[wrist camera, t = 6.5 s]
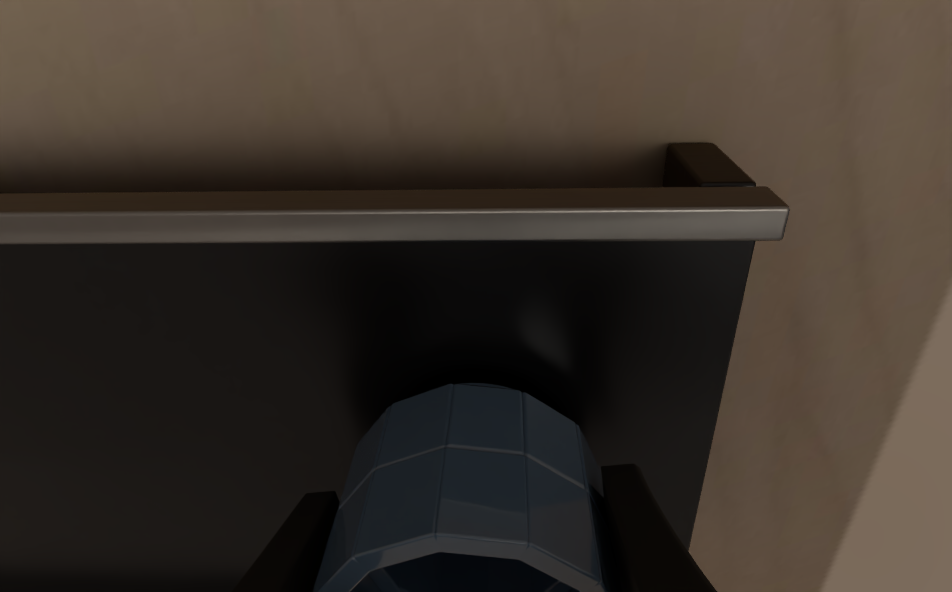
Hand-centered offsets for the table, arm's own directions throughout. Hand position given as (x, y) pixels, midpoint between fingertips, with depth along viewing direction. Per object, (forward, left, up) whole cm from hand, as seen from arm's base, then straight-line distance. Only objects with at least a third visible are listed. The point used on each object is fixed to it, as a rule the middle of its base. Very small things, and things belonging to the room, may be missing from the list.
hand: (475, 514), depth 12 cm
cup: (0, 0, -1) cm, 1 cm away
